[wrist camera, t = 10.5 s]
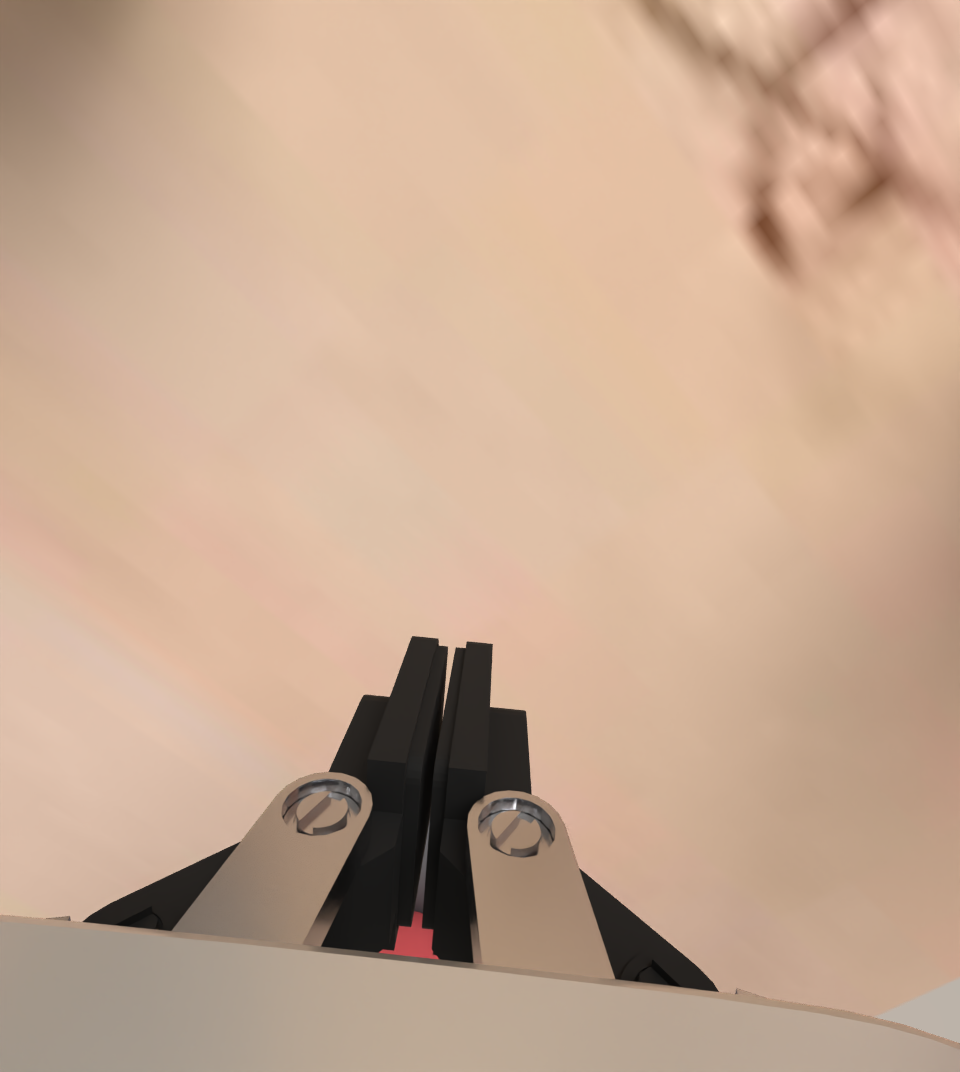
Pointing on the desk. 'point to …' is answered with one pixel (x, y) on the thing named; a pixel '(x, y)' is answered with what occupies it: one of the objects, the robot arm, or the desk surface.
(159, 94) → the desk surface
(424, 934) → the ball
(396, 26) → the desk surface
